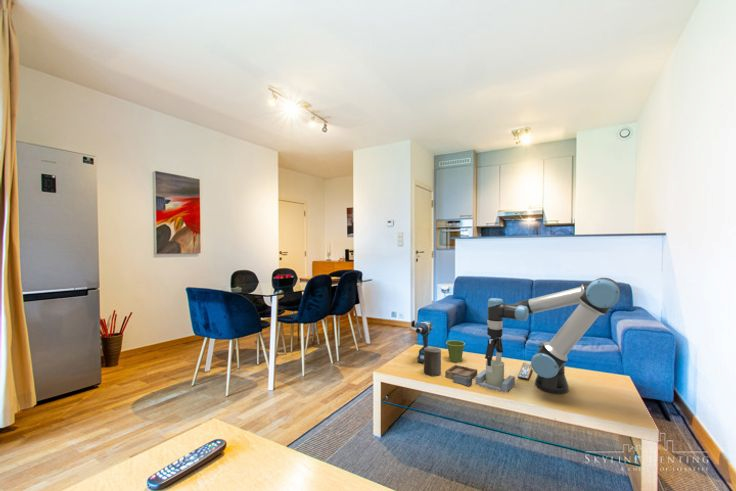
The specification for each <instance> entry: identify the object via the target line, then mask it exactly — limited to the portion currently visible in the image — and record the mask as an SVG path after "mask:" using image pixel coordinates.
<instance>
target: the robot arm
mask: <svg viewBox="0 0 736 491" xmlns="http://www.w3.org/2000/svg"><path fill="white" fill-rule="evenodd" d="M620 297H621V288H620V285H619V284H618V282H616V281H615V280H613V279H611V278H609V277H599V278H596V279H594V280H592V281H588V282H586V283H582V284H581V286H577V287H574V288H569V289H567V290H562V291H558V292H553V293H550V294H545V295H541V296H537V297H533V298H529V299H524V300H519V301H517V302H516V303H514V304H513V303H511V304H510V303H505V302H504V299H502V298H499V297H491V298H488V301H487V320H486V323H487V329H486V331H487V332H486V334H487V335H488V336H489V337H490V338H489V339H487V345H486V351H485V356H484V359H486V361H487V372H491V373H492V371H493V360H494V359H493V356H494V352H495V350H496V352H495V360H499V361H502V354H503V353H504V348H503V341H502V337H503V326H504V322H503V319H507V320H513V321H514V320H515V321H522V322H523V321H524V322H526V321H527V320H528V318H529V316H530V315H532V314H536V313H541V312H545V311H549V310H550V311H551V310H556V309H561V308H566V307H570V306H575V305H578V306H577V307H576V308H575V309H574V311H573V312H572V313H571V314H570V316H569V317H568V318H567V320H566V321H565V322H564V323H563V324H562V326H561V327H560V328H559V329H558V331H557V332H556V333H555V334H554V335H553V337H552V338H551V340H550V341H546V340H545V341H542V340H541V341H539V343H538V350H537V352H535V354H534V355H533V356H532V358H531V361H530V365H531V366H530V367H531V368H532V370H533V372H535V374H536V377H535V381H534V386H535V387H536V388H537V389H539V390H541V391H543V392H546V393H550V394H558V395H559V394H560V395H562V394H566V393H568V392H569V390H570V389H569V383H568V381H567V378H566V374H565V368H566V367H565V363H567V362H568V354H569V353H570V351H571V350H572V349H573V348H574V347H575V345H576V344H577V343H578V342H579V340H580V339H581V338H582V337H583V336H584V335H585V333H586V332H587V331H588V330H589V328H590V327H591V326H592V325H593V324H594V323H595V321H596V320H597V318H599V316H604V315H606V314H607V313H609V311H610V309H611V308H612V307H614V305H616V304H617V303H618V302H619V300H620Z"/></svg>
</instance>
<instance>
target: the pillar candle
mask: <svg viewBox="0 0 736 491" xmlns="http://www.w3.org/2000/svg"><path fill="white" fill-rule="evenodd" d="M423 374H424V375H426V376H429V377H439V376H440V375H442V349H441V348H439V347H434V346H428V347H426V348H424V363H423Z"/></svg>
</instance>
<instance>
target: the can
mask: <svg viewBox="0 0 736 491" xmlns="http://www.w3.org/2000/svg"><path fill="white" fill-rule="evenodd" d="M492 360H493V371H492V373H491V372H487V360H486V361H485V370H486V381H485V384H489V385H492V386H496V387H501V388H502V382H503V381H504V379H505V362H504V361H502V360H501V361H499V360H496V359H492Z"/></svg>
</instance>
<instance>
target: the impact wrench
mask: <svg viewBox="0 0 736 491" xmlns="http://www.w3.org/2000/svg"><path fill="white" fill-rule="evenodd" d="M433 328H434V324H433V322H432V321H431V320H425V321H421V322H420V323H418V325H417V328H415V333H417V334H418V335H419V334H420V336H422V347H421V348H420V349H419V350H418V356H417V363H422V364H424V348H426V347H429V335H430V334H431V332H432V330H433Z"/></svg>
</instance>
